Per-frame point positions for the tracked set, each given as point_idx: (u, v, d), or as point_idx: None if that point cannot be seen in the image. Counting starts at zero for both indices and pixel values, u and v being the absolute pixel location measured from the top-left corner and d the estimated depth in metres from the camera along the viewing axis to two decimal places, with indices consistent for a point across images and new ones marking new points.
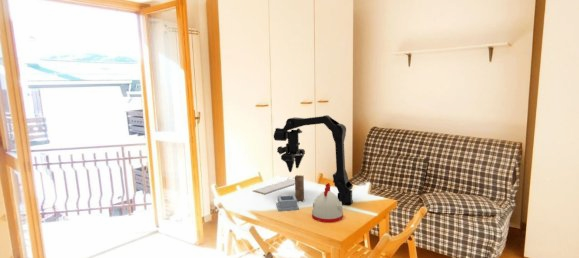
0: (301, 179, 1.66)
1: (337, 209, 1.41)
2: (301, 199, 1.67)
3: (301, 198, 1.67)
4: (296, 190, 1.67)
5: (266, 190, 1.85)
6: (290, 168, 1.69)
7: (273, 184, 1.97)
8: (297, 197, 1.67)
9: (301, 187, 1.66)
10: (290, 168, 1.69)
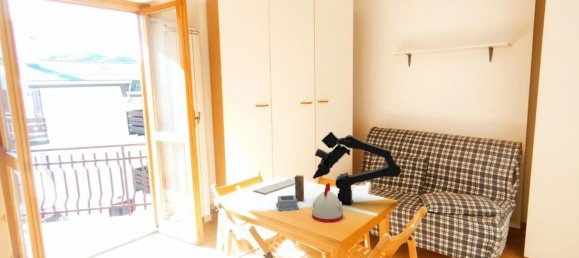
0: (301, 179, 1.66)
1: (337, 209, 1.41)
2: (301, 199, 1.67)
3: (301, 198, 1.67)
4: (296, 190, 1.67)
5: (266, 190, 1.85)
6: (316, 176, 1.60)
7: (273, 184, 1.97)
8: (297, 197, 1.67)
9: (301, 187, 1.66)
10: (316, 176, 1.60)
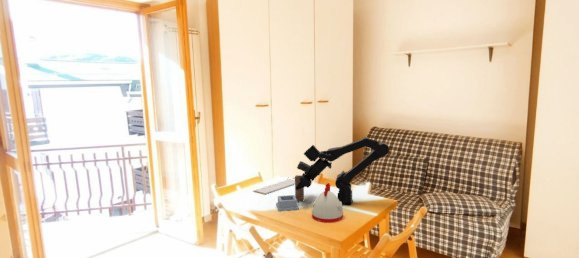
0: None
1: (337, 209, 1.41)
2: (301, 199, 1.67)
3: (301, 198, 1.67)
4: (296, 190, 1.67)
5: (266, 190, 1.85)
6: (299, 187, 1.65)
7: (273, 184, 1.97)
8: (297, 197, 1.67)
9: None
10: (299, 187, 1.66)
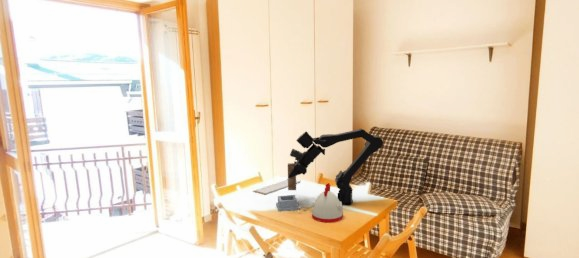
0: None
1: (337, 209, 1.41)
2: (294, 187, 1.62)
3: (294, 186, 1.62)
4: (288, 178, 1.62)
5: (266, 190, 1.85)
6: (292, 175, 1.61)
7: (273, 184, 1.96)
8: (290, 186, 1.62)
9: None
10: (292, 175, 1.61)
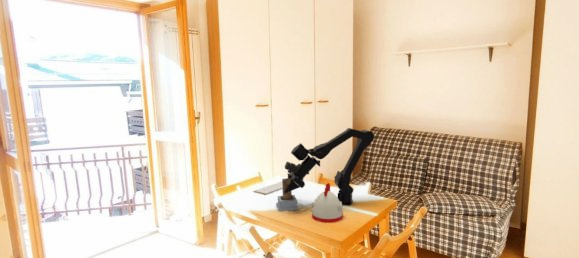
0: None
1: (337, 209, 1.41)
2: None
3: None
4: (284, 194, 1.57)
5: (267, 190, 1.84)
6: (289, 190, 1.55)
7: (273, 184, 1.96)
8: None
9: None
10: (289, 189, 1.55)
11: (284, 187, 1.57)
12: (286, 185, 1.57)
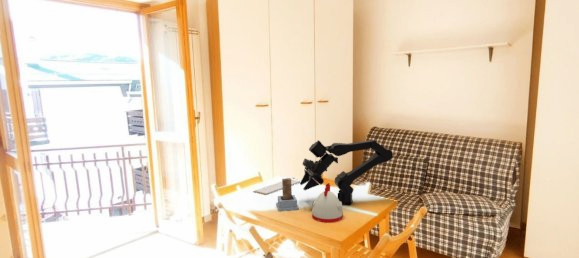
0: (290, 182, 1.57)
1: (337, 209, 1.41)
2: None
3: None
4: (284, 194, 1.57)
5: (267, 190, 1.84)
6: (308, 187, 1.55)
7: (273, 184, 1.96)
8: None
9: (290, 190, 1.58)
10: (308, 187, 1.55)
11: (284, 187, 1.57)
12: (286, 185, 1.57)
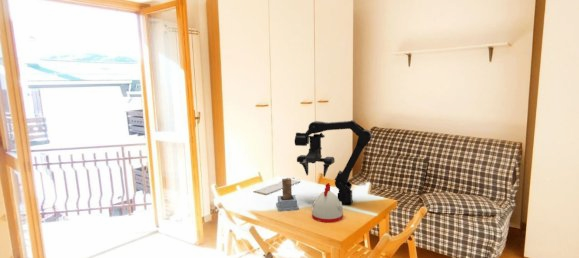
0: (290, 182, 1.57)
1: (337, 209, 1.41)
2: None
3: None
4: (284, 194, 1.57)
5: (267, 190, 1.84)
6: None
7: (273, 184, 1.96)
8: None
9: (290, 190, 1.58)
10: (325, 172, 1.65)
11: (284, 187, 1.57)
12: (286, 185, 1.57)
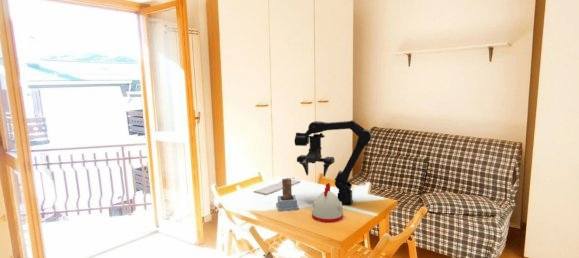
0: (290, 182, 1.57)
1: (337, 209, 1.41)
2: None
3: None
4: (284, 194, 1.57)
5: (267, 191, 1.84)
6: None
7: (273, 184, 1.96)
8: None
9: (290, 190, 1.58)
10: (325, 172, 1.65)
11: (284, 187, 1.57)
12: (286, 185, 1.57)
